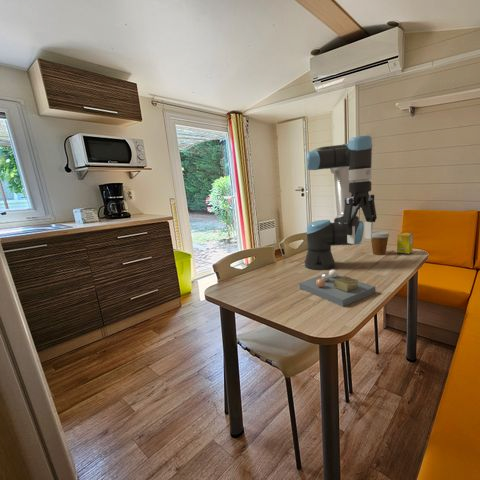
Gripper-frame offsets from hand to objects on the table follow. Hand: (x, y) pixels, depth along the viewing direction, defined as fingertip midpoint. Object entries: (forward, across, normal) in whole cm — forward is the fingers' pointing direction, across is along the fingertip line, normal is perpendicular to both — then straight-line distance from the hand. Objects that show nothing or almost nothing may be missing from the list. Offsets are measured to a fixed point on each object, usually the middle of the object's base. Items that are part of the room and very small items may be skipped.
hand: (359, 240), depth 100 cm
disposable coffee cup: (+20, +49, +24) cm, 58 cm away
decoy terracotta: (+15, -14, +7) cm, 22 cm away
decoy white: (+15, -2, +11) cm, 19 cm away
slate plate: (+20, -8, +5) cm, 22 cm away
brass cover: (+17, -8, 0) cm, 19 cm away
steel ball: (+15, -8, +10) cm, 20 cm away
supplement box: (+20, +58, +15) cm, 63 cm away
